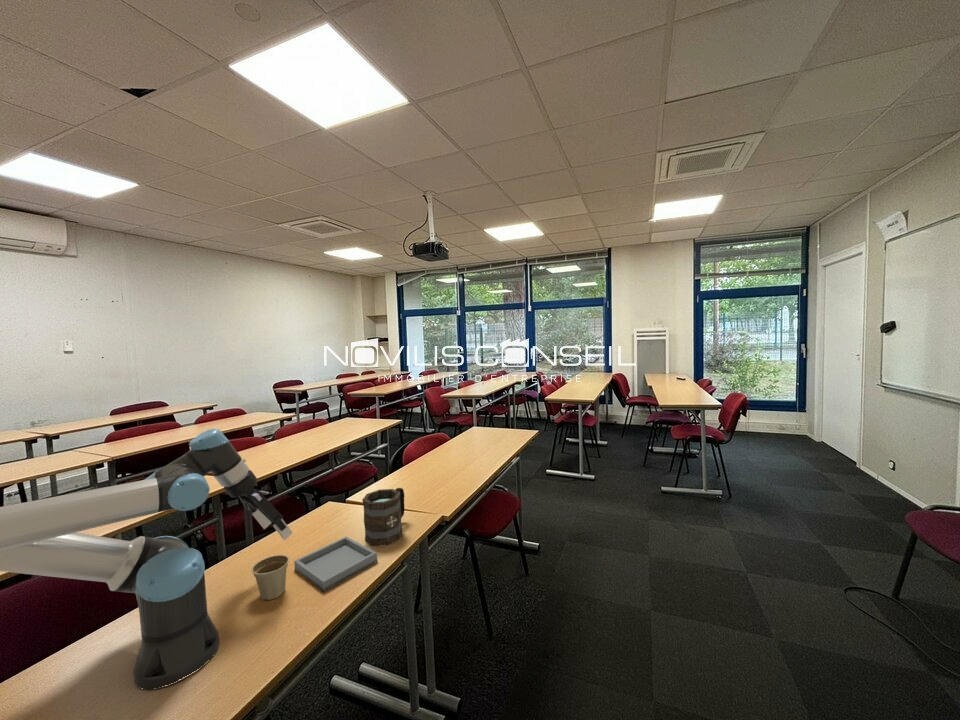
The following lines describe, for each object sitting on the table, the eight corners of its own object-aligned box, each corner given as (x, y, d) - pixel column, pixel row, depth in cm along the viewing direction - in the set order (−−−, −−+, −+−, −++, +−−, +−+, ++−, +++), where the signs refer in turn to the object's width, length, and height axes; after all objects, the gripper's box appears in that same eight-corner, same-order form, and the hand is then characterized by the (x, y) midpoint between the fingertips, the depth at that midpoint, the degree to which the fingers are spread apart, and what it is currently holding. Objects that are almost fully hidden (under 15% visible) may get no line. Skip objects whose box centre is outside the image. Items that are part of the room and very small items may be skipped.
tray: (324, 592, 107) (323, 581, 107) (294, 570, 119) (294, 560, 119) (377, 561, 121) (376, 552, 121) (346, 544, 133) (346, 536, 133)
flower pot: (246, 598, 106) (244, 569, 106) (277, 579, 114) (275, 551, 114) (267, 608, 102) (264, 577, 101) (298, 587, 110) (296, 558, 110)
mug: (388, 549, 128) (385, 506, 128) (356, 542, 134) (353, 501, 133) (419, 522, 146) (416, 484, 146) (390, 518, 152) (388, 481, 151)
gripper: (268, 475, 101) (308, 530, 109) (233, 463, 116) (270, 512, 124) (241, 496, 96) (286, 552, 103) (208, 480, 111) (249, 530, 119)
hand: (277, 530), depth 114 cm, fingers open, 13 cm apart
